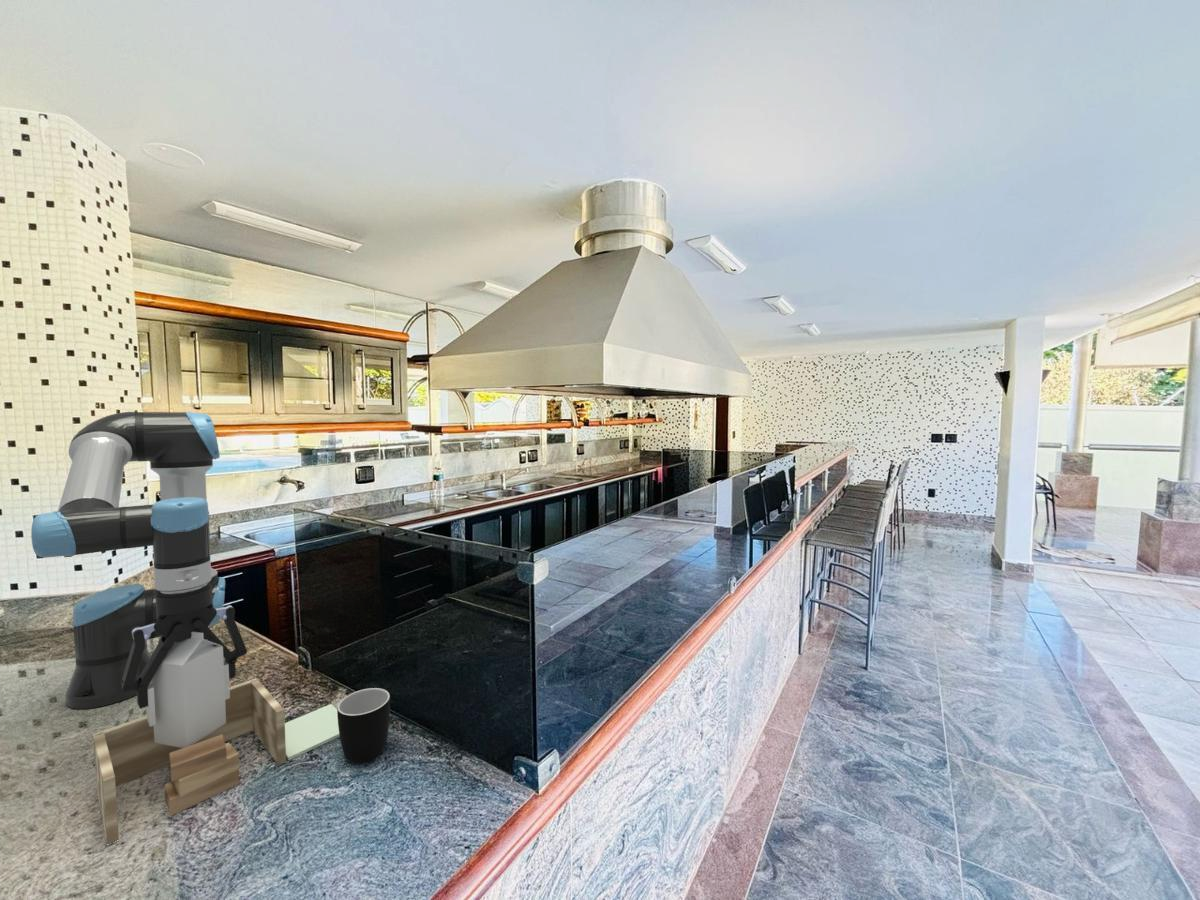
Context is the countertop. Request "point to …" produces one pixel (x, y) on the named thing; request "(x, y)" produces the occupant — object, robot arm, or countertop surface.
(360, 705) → the mug
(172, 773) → the offcut stack
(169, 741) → the milk carton
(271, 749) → the frame
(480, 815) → the countertop surface
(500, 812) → the countertop surface
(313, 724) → the mat
